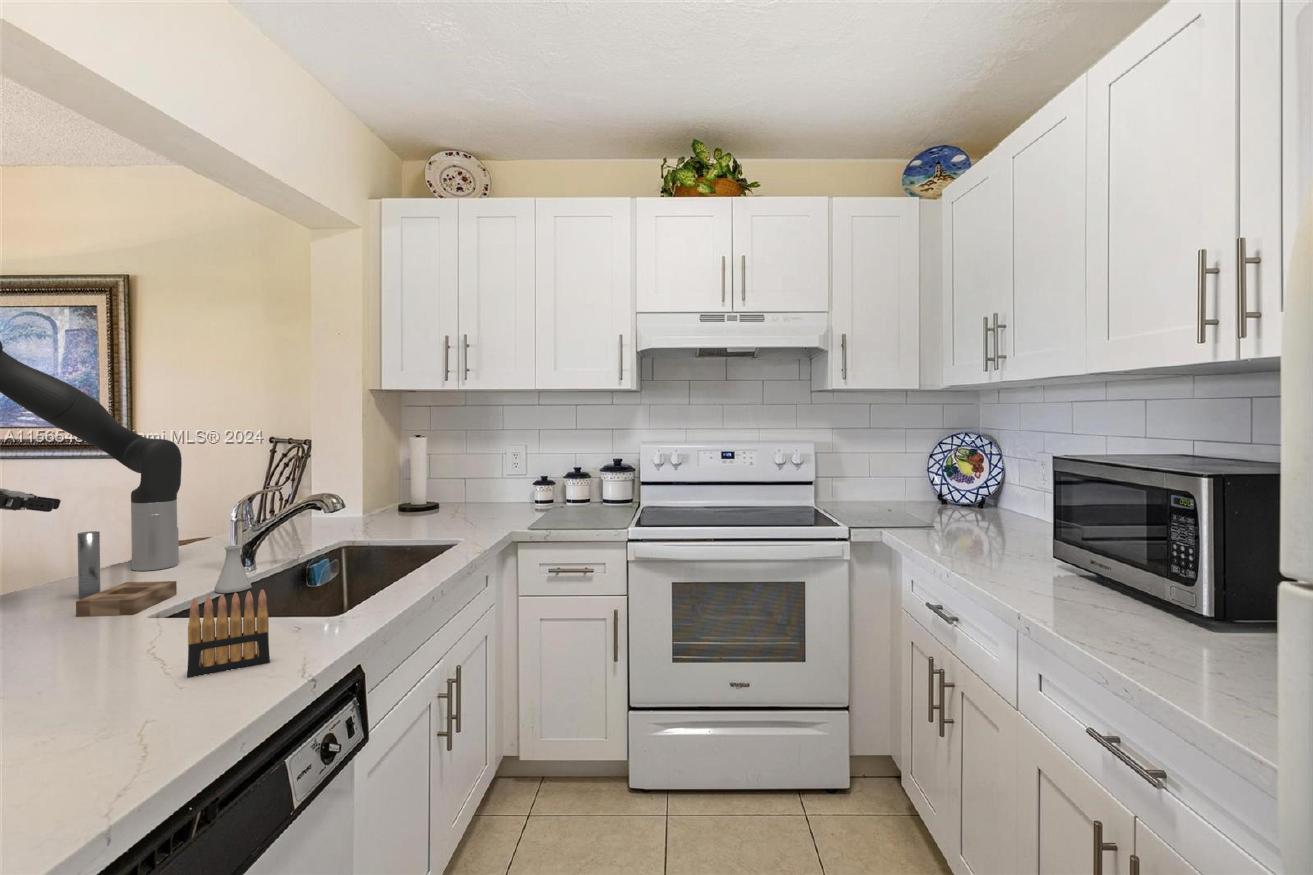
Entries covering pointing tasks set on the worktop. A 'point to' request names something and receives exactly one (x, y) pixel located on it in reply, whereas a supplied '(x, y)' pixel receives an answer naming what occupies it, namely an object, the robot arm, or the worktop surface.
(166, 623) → the worktop surface
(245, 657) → the ammunition clip
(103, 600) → the hole block
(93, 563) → the peg
